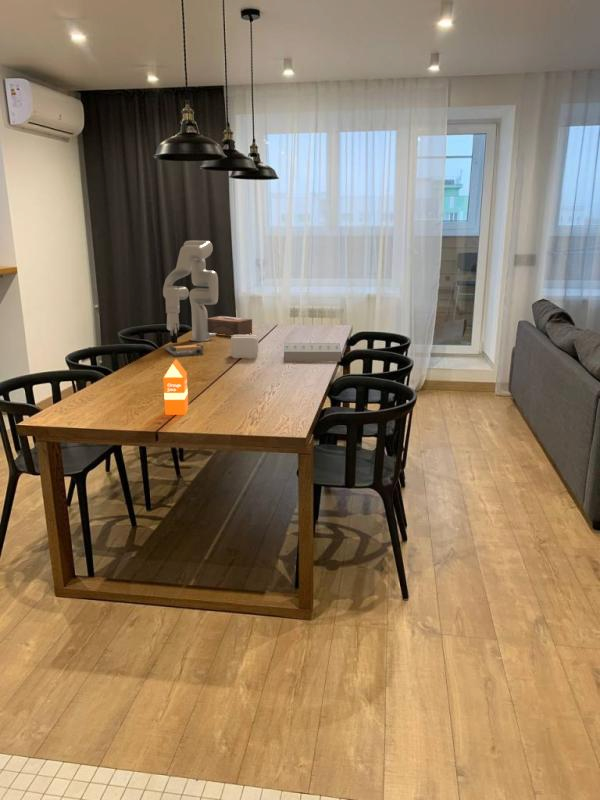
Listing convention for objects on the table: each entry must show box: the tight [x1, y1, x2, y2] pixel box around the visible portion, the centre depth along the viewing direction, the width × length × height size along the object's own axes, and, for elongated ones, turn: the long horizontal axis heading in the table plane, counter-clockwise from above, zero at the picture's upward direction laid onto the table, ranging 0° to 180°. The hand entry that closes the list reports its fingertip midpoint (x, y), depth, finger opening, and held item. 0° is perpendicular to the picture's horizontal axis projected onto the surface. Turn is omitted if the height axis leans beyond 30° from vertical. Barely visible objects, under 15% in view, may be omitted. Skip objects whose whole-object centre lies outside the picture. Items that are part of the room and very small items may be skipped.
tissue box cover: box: [208, 315, 253, 336], centre depth 409 cm, size 26×14×10 cm, turn 57°
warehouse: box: [283, 342, 342, 363], centre depth 335 cm, size 30×14×8 cm, turn 90°
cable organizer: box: [230, 334, 259, 360], centre depth 338 cm, size 15×11×12 cm
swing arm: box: [169, 343, 204, 351], centre depth 346 cm, size 18×6×2 cm, turn 115°
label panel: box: [163, 346, 205, 358], centre depth 352 cm, size 18×24×2 cm
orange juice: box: [162, 358, 189, 416], centre depth 239 cm, size 8×9×20 cm
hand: (174, 342), depth 351 cm, fingers closed
